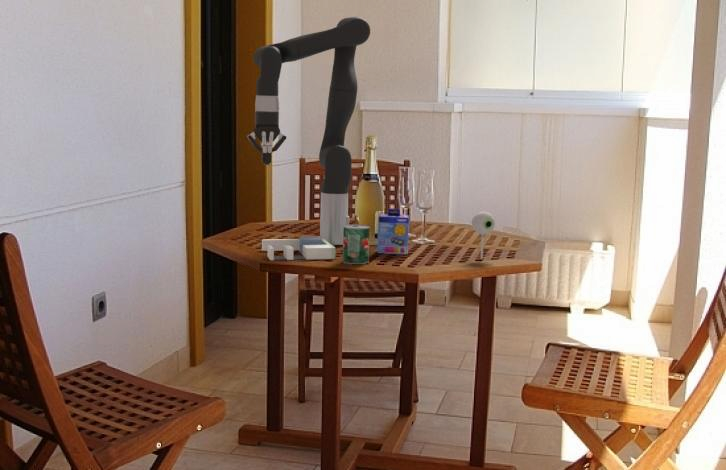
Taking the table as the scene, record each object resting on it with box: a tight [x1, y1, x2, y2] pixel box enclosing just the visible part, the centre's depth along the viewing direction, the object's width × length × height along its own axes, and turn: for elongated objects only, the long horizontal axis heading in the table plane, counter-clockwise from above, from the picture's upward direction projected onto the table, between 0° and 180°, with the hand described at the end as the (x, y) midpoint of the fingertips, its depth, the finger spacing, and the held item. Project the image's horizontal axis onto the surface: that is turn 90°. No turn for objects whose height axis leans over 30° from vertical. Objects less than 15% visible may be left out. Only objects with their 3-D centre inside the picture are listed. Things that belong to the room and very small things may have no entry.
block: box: [298, 236, 322, 256], centre depth 291 cm, size 6×6×5 cm
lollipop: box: [471, 211, 496, 260], centre depth 288 cm, size 7×7×15 cm
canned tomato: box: [342, 223, 371, 265], centre depth 277 cm, size 8×8×11 cm
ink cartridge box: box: [377, 208, 410, 256], centre depth 295 cm, size 10×6×14 cm, turn 87°
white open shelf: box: [261, 238, 336, 261], centre depth 288 cm, size 20×18×4 cm
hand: (266, 164), depth 296 cm, fingers closed
